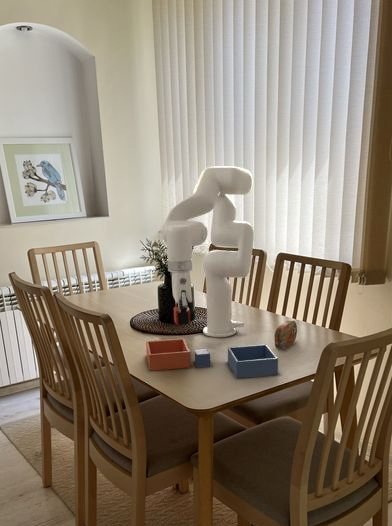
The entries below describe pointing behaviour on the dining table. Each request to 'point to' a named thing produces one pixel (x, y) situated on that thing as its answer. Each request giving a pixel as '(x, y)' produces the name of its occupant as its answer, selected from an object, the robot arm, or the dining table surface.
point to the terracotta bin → (167, 354)
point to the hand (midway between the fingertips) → (182, 320)
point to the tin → (285, 335)
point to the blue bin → (252, 361)
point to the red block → (176, 310)
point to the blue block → (202, 358)
